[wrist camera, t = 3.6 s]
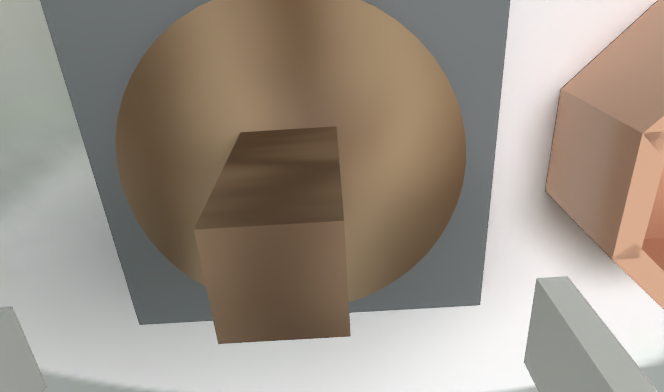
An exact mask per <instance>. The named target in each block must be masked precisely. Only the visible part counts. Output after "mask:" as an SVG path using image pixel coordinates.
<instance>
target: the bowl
mask: <svg viewBox="0 0 664 392" xmlns="http://www.w3.org/2000/svg"><path fill="white" fill-rule="evenodd" d="M545 191H546V192H547V193H548V194H549V195H550V196H551V197H552V198H553V199H554V200H555V201H556V202H557V203H558V204H559V206H560V207H561V208H562V209H563V210H564V211H565V212H566V213H567V214H568V215H569V216H570V217H571V218H572V219H573V220H574V221H575V222H576V223H577V224H578V225H579V226H580V227H581V228H582V229H583V230H584V231H585V232H586V233H587V235H588V236H589V237H590V238H591V239H592V240H593V241H594V242H595V243H596V244H597V245H598V246H599V247H600V248H601V249H602V250H603V251H604V252H605V253H606V254H607V255H608V256H609V257H610V258H611V259H612V260H613V261H614V262H615V263H616V264H617V265H618V266H619V267H620V268H621V269H622V270H623V271H624V272H625V273H626V274H628V275H629V276H630V277H631V278H632V279H633V280H634V281H635V282H636V283H637V284H638V285H639V286H640V287H641V288H642V289H643V290H644V291H645V292H646V293H647V294H648V295H649V296H650V297H651V298H652V299H653V300H654V301H655V302H656V303H658V304H659V305H660V306H661V307H662V308H663V309H664V0H658V1H657V2H656V3H655V4H654V5H653V6H651V7H650V8H649V9H648V10H647V11H646V12H645V13H644V14H643V15H642V16H640V17H639V18H638V19H637V20H636V21H635V22H634V23H633V24H632V25H631V26H630V27H628V28H627V29H626V30H625V31H624V32H623V33H622V34H621V35H620V36H619V37H617V38H616V39H615V40H614V41H613V42H612V43H611V44H610V45H609V46H608V47H607V48H605V49H604V50H603V51H602V52H601V53H600V54H599V55H598V56H597V57H596V58H594V59H593V60H592V61H591V62H590V63H589V64H588V65H587V66H586V67H585V68H584V69H582V70H581V71H580V72H579V73H578V74H577V75H576V76H575V77H574V78H573V79H571V80H570V81H569V82H568V83H567V84H566V85H565V86H564V87H563V88H562V89H561V92H560V98H559V105H558V111H557V118H556V124H555V131H554V137H553V144H552V150H551V156H550V163H549V169H548V176H547V182H546V189H545Z"/></svg>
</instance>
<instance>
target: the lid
mask: <svg viewBox="0 0 664 392" xmlns="http://www.w3.org/2000/svg"><path fill="white" fill-rule="evenodd" d="M116 156H117V166H118V170H119V175H120V180H121V184H122V187H123V190H124V193H125V196H126V199H127V201H128V204H129V206H130V208H131V210H132V212H133V214H134V216H135V218H136V220H137V222H138V223H139V225H140V226H141V228H142V229H143V231H144V232H145V234H146V235H147V237H148V238H149V239H150V241H151V242H152V243H153V244H154V245H155V246H156V247H157V249H158V250H159V251H160V252H161V253H162V254H163V255H164V256H165V257H166V258H167V259H168V260H169V261H170V262H171V263H172V264H174V265H175V266H176V267H177V268H178V269H179V270H181V271H182V272H184V273H185V274H186V275H188V276H189V277H190V278H192V279H193V280H195V281H196V282H198V283H200V284H202V285H204V286H205V287H206V289H207V294H208V298H209V303H210V307H211V312H212V317H213V321H214V326H215V330H216V335H217V340H218V344H224V343H242V342H259V341H277V340H294V339H312V338H329V337H347V336H350V319H349V302H351V301H354V300H357V299H360V298H363V297H365V296H368V295H370V294H372V293H374V292H376V291H379V290H381V289H383V288H384V287H386V286H387V285H389V284H391V283H392V282H394V281H396V280H397V279H399V278H400V277H401V276H403V275H404V274H405V273H407V272H408V271H409V270H410V269H412V268H413V267H414V266H415V265H416V264H417V263H418V262H419V261H420V260H421V259H422V258H423V257H424V256H425V255H426V254H427V253H428V252H429V251H430V249H431V248H432V247H433V246H434V244H435V243H436V242H437V241H438V239H439V238H440V236H441V235H442V233H443V231H444V230H445V228H446V226H447V225H448V223H449V221H450V219H451V217H452V215H453V212H454V210H455V208H456V205H457V203H458V200H459V196H460V193H461V189H462V186H463V181H464V174H465V167H466V138H465V131H464V124H463V118H462V115H461V111H460V108H459V105H458V101H457V98H456V96H455V94H454V91H453V89H452V87H451V85H450V83H449V80H448V78H447V76H446V75H445V73H444V72H443V70H442V69H441V67H440V65H439V64H438V62H437V61H436V59H435V58H434V56H433V55H432V54H431V53H430V52H429V51H428V49H427V48H426V47H425V46H424V45H423V44H422V43H421V41H420V40H419V39H418V38H417V37H416V36H415V35H413V34H412V33H411V32H410V31H409V30H408V29H406V28H405V27H404V26H403V25H402V24H401V23H400V22H398V21H397V20H396V19H394V18H393V17H391V16H390V15H388V14H387V13H385V12H383V11H382V10H380V9H379V8H377V7H376V6H374V5H372V4H370V3H367V2H365V1H363V0H211V1H209V2H207V3H205V4H203V5H200V6H198V7H197V8H195V9H193V10H192V11H190V12H189V13H187V14H186V15H184V16H183V17H181V18H180V19H178V20H177V21H176V22H174V23H173V24H172V25H171V26H170V27H169V28H168V29H167V30H166V31H164V32H163V33H162V34H161V35H160V36H159V37H158V38H157V39H156V40H155V42H154V43H153V44H152V45H151V46H150V48H149V49H148V50H147V51H146V53H145V54H144V55H143V56H142V58H141V60H140V61H139V63H138V65H137V67H136V68H135V70H134V72H133V73H132V75H131V77H130V80H129V82H128V85H127V87H126V90H125V92H124V95H123V97H122V101H121V105H120V110H119V114H118V118H117V129H116Z"/></svg>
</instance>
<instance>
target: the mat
mask: <svg viewBox="0 0 664 392" xmlns="http://www.w3.org/2000/svg"><path fill="white" fill-rule="evenodd" d="M209 1H211V0H40V2H41V5H42V8H43V11H44V15H45V18H46V21H47V24H48V28H49V31H50V34H51V38H52V41H53V44H54V47H55V51H56V54H57V57H58V60H59V64H60V67H61V70H62V73H63V77H64V80H65V83H66V86H67V90H68V93H69V96H70V99H71V103H72V106H73V109H74V112H75V116H76V119H77V122H78V126H79V129H80V132H81V135H82V139H83V142H84V145H85V148H86V152H87V155H88V158H89V161H90V165H91V168H92V171H93V174H94V178H95V181H96V184H97V187H98V191H99V194H100V197H101V200H102V204H103V207H104V210H105V214H106V217H107V220H108V223H109V227H110V230H111V233H112V236H113V240H114V243H115V246H116V249H117V253H118V256H119V259H120V262H121V266H122V269H123V272H124V275H125V279H126V282H127V285H128V289H129V292H130V295H131V298H132V302H133V305H134V308H135V311H136V315H137V318H138V321H139V324H140V325H143V324H161V323H178V322H195V321H213V317H212V312H211V307H210V303H209V298H208V294H207V289H206V287H205V286H204V285H202V284H200V283H198V282H196V281H195V280H193V279H192V278H190V277H189V276H188V275H186V274H185V273H184V272H182V271H181V270H179V269H178V268H177V267H176V266H175V265H174V264H172V263H171V262H170V261H169V260H168V259H167V258H166V257H165V256H164V255H163V254H162V253H161V252H160V251H159V250H158V249H157V247H156V246H155V245H154V244H153V243H152V242H151V241H150V239H149V238H148V237H147V235H146V234H145V232H144V231H143V229H142V228H141V226H140V225H139V223H138V222H137V220H136V218H135V216H134V214H133V212H132V210H131V208H130V206H129V204H128V201H127V199H126V196H125V193H124V190H123V187H122V184H121V180H120V175H119V170H118V166H117V156H116V129H117V118H118V114H119V110H120V105H121V101H122V97H123V95H124V92H125V90H126V87H127V85H128V82H129V80H130V77H131V75H132V73H133V72H134V70H135V68H136V67H137V65H138V63H139V61H140V60H141V58H142V56H143V55H144V54H145V53H146V51H147V50H148V49H149V48H150V46H151V45H152V44H153V43H154V42H155V40H156V39H157V38H158V37H159V36H160V35H161V34H162V33H163V32H164V31H166V30H167V29H168V28H169V27H170V26H171V25H172V24H173V23H174V22H176V21H177V20H178V19H180V18H181V17H183V16H184V15H186V14H187V13H189V12H190V11H192V10H193V9H195V8H197V7H198V6H200V5H203V4H205V3H207V2H209ZM363 1H365V2H367V3H370V4H372V5H374V6H376V7H377V8H379V9H380V10H382V11H383V12H385V13H387V14H388V15H390V16H391V17H393V18H394V19H396V20H397V21H398V22H400V23H401V24H402V25H403V26H404V27H405V28H406V29H408V30H409V31H410V32H411V33H412V34H413V35H415V36H416V37H417V38H418V39H419V40H420V41H421V43H422V44H423V45H424V46H425V47H426V48H427V49H428V51H429V52H430V53H431V54H432V55H433V56H434V58H435V59H436V61H437V62H438V64H439V65H440V67H441V69H442V70H443V72H444V73H445V75H446V76H447V78H448V80H449V83H450V85H451V87H452V89H453V91H454V94H455V96H456V98H457V101H458V105H459V108H460V111H461V115H462V118H463V124H464V131H465V138H466V167H465V174H464V181H463V186H462V189H461V193H460V196H459V200H458V203H457V205H456V208H455V210H454V212H453V215H452V217H451V219H450V221H449V223H448V225H447V226H446V228H445V230H444V231H443V233H442V235H441V236H440V238H439V239H438V241H437V242H436V243H435V244H434V246H433V247H432V248H431V249H430V251H429V252H428V253H427V254H426V255H425V256H424V257H423V258H422V259H421V260H420V261H419V262H418V263H417V264H416V265H415V266H414V267H413V268H412V269H410V270H409V271H408V272H407V273H405V274H404V275H403V276H401V277H400V278H399V279H397V280H396V281H394V282H392V283H391V284H389V285H387V286H386V287H384V288H383V289H381V290H379V291H376V292H374V293H372V294H370V295H368V296H365V297H363V298H360V299H357V300H354V301H351V302H349V313H351V312H369V311H386V310H403V309H420V308H438V307H455V306H472V305H480V300H481V290H482V280H483V270H484V260H485V249H486V239H487V229H488V219H489V209H490V199H491V189H492V179H493V169H494V159H495V149H496V139H497V129H498V119H499V108H500V98H501V88H502V78H503V68H504V58H505V48H506V38H507V28H508V18H509V8H510V0H363Z"/></svg>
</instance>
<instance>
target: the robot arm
mask: <svg viewBox="0 0 664 392" xmlns="http://www.w3.org/2000/svg"><path fill="white" fill-rule="evenodd" d="M524 363H525V365H526V367H527V369H528V371H529V373H530V375H531V377H532V379H533V381H534V383H535V385H536V387H537V389H538V391H539V392H658V391H657V389H656V388H655V387H654V386H653V384H652V383H651V382H650V381H649V379H648V378H647V377H646V375H645V374H644V373H643V372H642V370H641V369H640V368H639V367H638V365H637V364H636V363H635V361H634V360H633V359H632V358H631V356H630V355H629V354H628V353H627V351H626V350H625V349H624V347H623V346H622V345H621V344H620V342H619V341H618V340H617V339H616V337H615V336H614V335H613V333H612V332H611V331H610V330H609V328H608V327H607V326H606V325H605V323H604V322H603V321H602V319H601V318H600V317H599V316H598V314H597V313H596V312H595V311H594V309H593V308H592V307H591V305H590V304H589V303H588V302H587V300H586V299H585V298H584V297H583V295H582V294H581V293H580V291H579V290H578V289H577V288H576V286H575V285H574V284H573V283H572V281H571V280H570V279H569V277H551V278H537V279H536V286H535V292H534V299H533V305H532V312H531V319H530V325H529V332H528V339H527V345H526V352H525V358H524ZM46 388H47V386H46V384H45V381H44V379H43V377H42V374H41V372H40V370H39V368H38V365H37V363H36V361H35V358H34V356H33V354H32V351H31V349H30V347H29V344H28V342H27V340H26V337H25V335H24V333H23V331H22V328H21V326H20V324H19V321H18V319H17V317H16V314H15V312H14V310H13V307H4V308H0V392H44V391H45V389H46Z"/></svg>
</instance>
